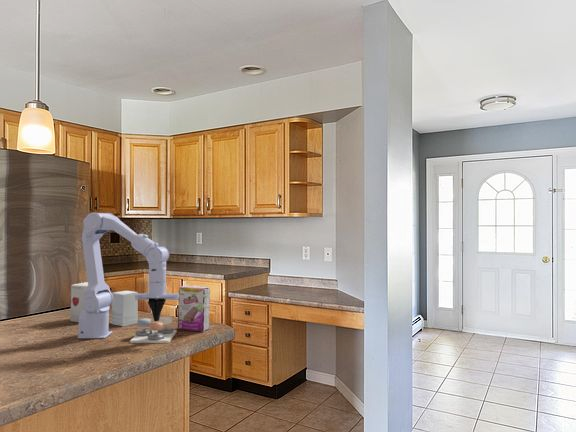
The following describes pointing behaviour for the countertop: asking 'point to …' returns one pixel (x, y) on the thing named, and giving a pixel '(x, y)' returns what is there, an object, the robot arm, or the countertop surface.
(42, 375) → the countertop surface
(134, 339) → the panel
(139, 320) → the slate button
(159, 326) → the terracotta button
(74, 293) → the supplement box
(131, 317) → the supplement box
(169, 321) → the cream button
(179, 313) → the candy bar box
